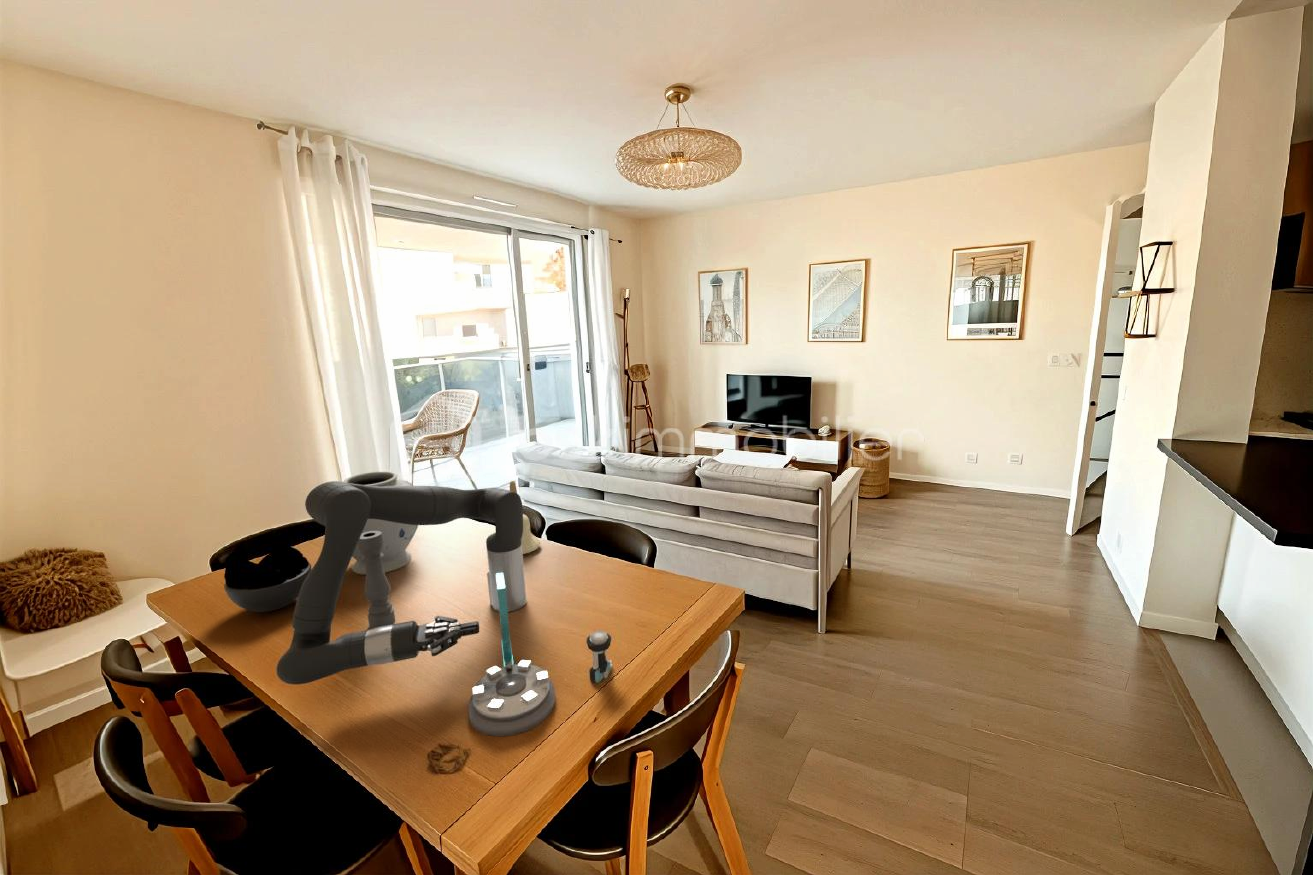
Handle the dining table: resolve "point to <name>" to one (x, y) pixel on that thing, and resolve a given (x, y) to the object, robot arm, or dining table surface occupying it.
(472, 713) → the round gray base
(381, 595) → the candle holder
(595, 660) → the push button
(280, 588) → the coal bowl
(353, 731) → the dining table surface
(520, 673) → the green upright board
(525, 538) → the handbell
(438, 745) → the leaf
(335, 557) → the robot arm
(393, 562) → the grey ceramic vase
